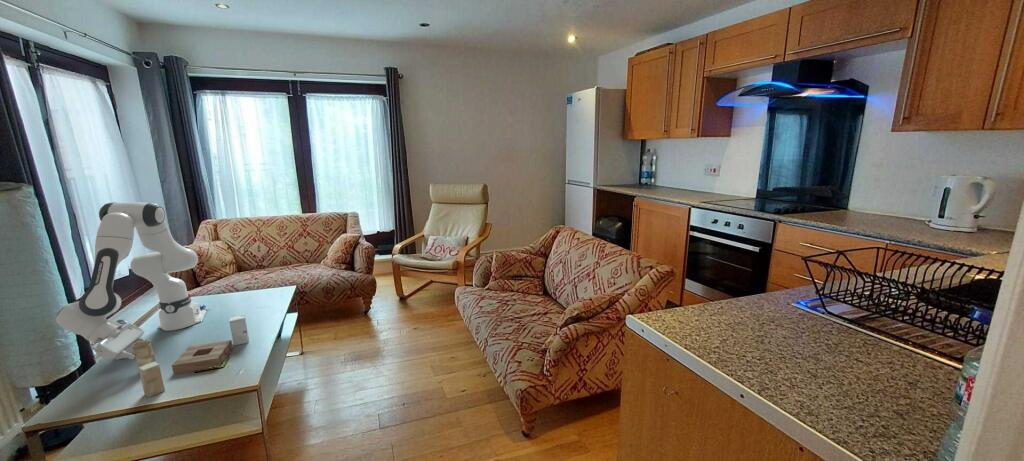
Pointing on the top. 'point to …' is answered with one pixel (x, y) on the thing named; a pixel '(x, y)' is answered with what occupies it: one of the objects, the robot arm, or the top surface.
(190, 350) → the square hole block
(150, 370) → the box
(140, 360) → the peg
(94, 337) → the robot arm
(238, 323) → the skincare box
